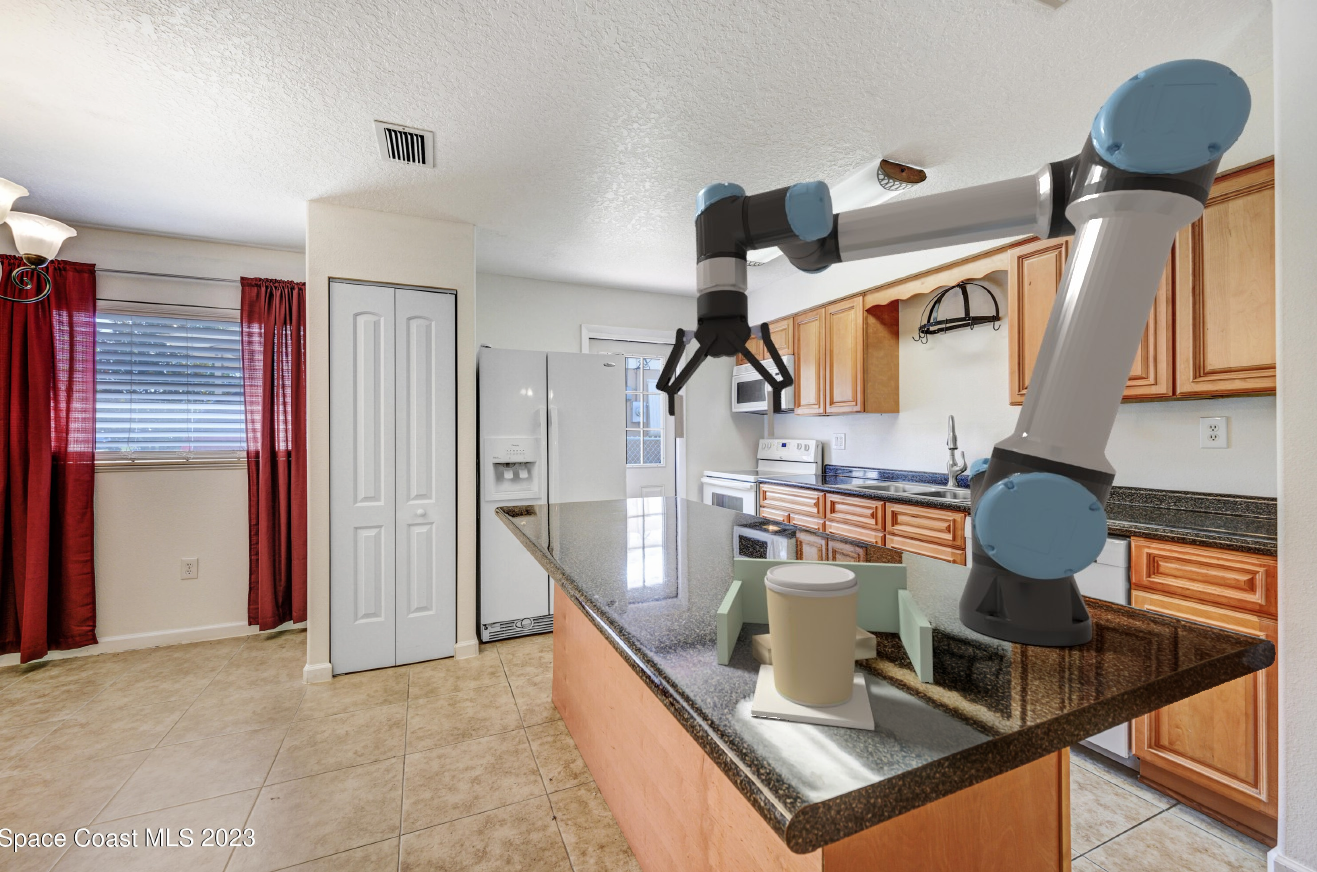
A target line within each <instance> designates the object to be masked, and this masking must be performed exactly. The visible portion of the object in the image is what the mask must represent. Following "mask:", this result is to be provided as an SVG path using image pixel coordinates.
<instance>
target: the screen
mask: <svg viewBox="0 0 1317 872" xmlns="http://www.w3.org/2000/svg"><path fill="white" fill-rule="evenodd" d="M800 563H809V564H823V565H831V566H836V567H841V568H844V569H847V570H850V571H852V572H853V573H854V574H855V575H856V579H857V580H858V581H859V589H858V591H857V624H856V626H858V627H859V628H861V629H863V630H865V631H867V632H868V631H869V632H882V633H894V634H895V633H896V634H898V636H899V637H900V640H901V642H902V644H903V646H904V649H905V651H906V654H907V655H908V657H909V659H910V661H911V664H912V666H913V668H914V671H915V672H916V675H917V677H918V679H919V681H920V683H925V682H929V683H928V684H934V671H933V668H934V667H933V666H934V665H933V662H934V661H933V628H932V627H933V626H932V625H931V624H930V622H929V620H928V619H927V618H926V616H925V614H924V613H923V611H922V609H920V607H919V605H918V603H917V602H916V600H915V599H914V597H913V596H912V594H911V593H910V591H909V590H908V581H907V580H908V577H907V576H908V574H907V573H908V572H907V571H908V570H907V565H906V563H905V564H903V563H881V562H858V561H857V562H854V561H851V562H850V561H827V560H825V561H823V560H803V559H802V560H801V559H800V560H796V559H795V560H794V559H775V558H774V559H773V558H771V559H770V558H747V557H746V558H745V557H743V558H742V557H734V558H733V581H732V584H731V585H730V587H729V588H728V591H727V592H726V594H725V597H724V598H723V600H722V602H721V604H720V605H719V608H718V609H717V612H716V640H717V642H716V646H717V648H716V649H717V650H716V651H717V654H716V655H717V665H726V666H727V665H729V663H730V660H731V658H732V654H733V652H734V649H735V646H736V643H737V640H738V637H739V635H740V632H741V629H742V627H743V623H747V624H748V623H749V624H764V625H769V618H768V605H767V589H766V585H765V576H766V575H767V572H768V570H769V569H770V568H772V567H775V566H779V565H785V564H800Z"/></svg>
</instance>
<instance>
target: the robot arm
mask: <svg viewBox="0 0 1317 872" xmlns="http://www.w3.org/2000/svg"><path fill="white" fill-rule="evenodd" d="M1251 110H1252V95H1251V91H1250V88H1249V86H1248V84H1247V83H1246V81H1245V79H1244V78H1243V77H1242V76H1240V75H1238V74H1237V72H1235V71H1233V70H1232V68H1231V67H1229V66H1227V65H1225V64H1222V63H1220V62H1217V61H1213V60H1209V59H1203V58H1200V59H1199V58H1188V59H1187V58H1184V59H1183V58H1182V59H1177V60H1176V59H1175V60H1172V61H1166V62H1162V63H1160V64H1156V65H1154V66H1151V67H1148V68H1146V69H1144V70H1142V71H1140V72H1139V73H1137V74H1135V75H1133V76H1132V77H1130V78H1129V79H1127V80H1125V81H1124V83H1122V84H1121V85H1119V86H1118V87H1117V88H1116V89H1115V90H1114V91H1113V93H1112V94H1111V95H1110V96H1108V98H1107V99H1106V101H1105V102H1104V104H1102V106H1101V107H1100V108H1099V110H1098V112H1097V113H1096V114H1095V116H1094V119H1093V121H1092V125H1091V128H1090V132H1089V133H1088V136H1087V138H1086V141H1085V142H1084V145H1083V147H1082V149H1081V152H1079V153H1078V154H1076V155H1074V156H1072V157H1069V158H1065V159H1062V160H1057V161H1052V162H1049V163H1048V162H1047V163H1044V165H1042V166H1041V168H1040V169H1038V171H1036V172H1035V173H1034V174H1033V173H1032V174H1029V175H1024V176H1023V175H1022V176H1018V177H1014V178H1007V179H1003V180H997V181H993V182H988V183H983V184H977V185H973V186H968V187H967V186H966V187H962V188H958V189H952V190H948V191H942V192H941V191H940V192H936V193H933V194H927V195H922V196H917V197H912V198H906V199H901V200H896V201H893V202H887V203H882V204H876V205H871V206H866V207H861V208H856V209H852V210H850V209H849V210H846V211H841V212H836V213H833V211H834V210H833V201H832V199H833V198H832V196H831V192H830V191H831V190H830V187H829V186H828V184H827V183H826V182H825V181H823V180H814V181H813V180H812V181H808V182H796V183H794V184H792V185H789V186H788V185H787V186H784V187H780V188H775V189H772V190H771V189H770V190H768V191H763V192H759V193H756V194H755V193H754V194H751V195H747V194H746V190H745V189H744V187H743V186H741V185H740V184H738V183H735V182H724V183H722V182H717V183H713V184H709V185H707V186H706V187H704V188H703V189H701V190H700V191H699V192H698V194H697V196H696V203H695V219H694V227H695V245H696V247H695V249H696V251H695V253H696V262H695V263H696V269H695V271H696V292H697V294H698V297H697V298H696V315H697V316H696V327H695V330H691V329H683V328H681V327H679V328H677V329H676V331H675V338H674V339H675V341H674V345H673V346H672V349H671V351H670V353H669V355H668V357H667V360H666V362H665V364H664V367H663V368H662V371H661V372H660V374H659V377H658V379H657V382H656V384H655V389H656V390H658V391H659V392H662V393H665V394H666V395H667V401H668V402H667V406H668V407H667V408H668V409H667V410H668V411H667V412H668V415H669V416H670V417H674V425H675V426H674V430H675V431H674V434H675V437H674V439H685V427H684V422H685V420H684V416H685V415H684V395H683V394H680V391H682V389H683V388H684V386H685V385H686V384H687V383H688V381H689V380H690V379H691V378H692V376H693V375H694V374H695V373H696V371H697V370H698V369H699V368H700V366H701V365H702V364H703V362H705V361H706V360H707V359H708V357H711V358H712V359H719V358H723V357H724V358H725V357H726V358H735V357H736V356H738V355H739V354H740V355H741V356H742V358H744V360H746V361H747V362H748V364H749V365H750V366H751V367H752V369H754V370H755V371H756V372H757V373H758V375H760V376H761V378H762V379H763V380H764V381H765V382H766V383H767V384H768V385H769V387H770V388H771V390H767V391H766V395H767V397H766V398H767V399H766V401H767V437H775V418H774V417H775V414H781V412H782V410H783V409H782V405H783V404H782V392H783V391H784V390H785V389H787V388H790V387H793V385H794V384H795V381H794V378H793V376H792V374H791V373H790V371H789V368H788V367H787V365H786V363H785V362H784V360H783V358H782V356H781V354H780V352H779V350H778V349H777V347H776V344H775V343H774V341H773V339H772V337H771V329H770V324H769V323H768V322H767V321H766V322H765V321H764V322H762V323H761V324H759V325H753V326H750V324H749V308H748V307H749V305H748V303H749V301H748V298H749V297H748V295H747V294H746V292H747V291H748V289H749V288H748V257H747V256H748V252H750V251H758V250H763V249H768V248H769V249H770V248H777V249H779V250H780V251H781V253H783V254H784V256H785V257H786V258H787V260H788V261H789V263H790V264H791V265H792V266H793V267H794V268H796V269H797V270H798V271H801V272H803V273H805V274H809V275H816V274H817V275H818V274H820V273H822V272H824V271H826V270H828V269H829V268H831V266H832V265H836V264H840V263H841V264H843V263H848V262H855V261H862V260H868V259H869V260H870V259H874V258H882V257H888V256H894V255H899V254H900V255H901V254H907V253H914V252H921V251H927V250H933V249H940V248H947V247H952V246H953V247H954V246H959V245H968V244H973V243H979V242H980V243H981V242H987V241H994V240H999V239H1005V238H1013V237H1019V236H1026V235H1035V236H1036V237H1038V238H1040V239H1041V240H1042V241H1043V240H1051V239H1057V238H1058V239H1059V238H1064V237H1065V238H1066V237H1073V239H1072V242H1071V246H1070V248H1069V252H1068V255H1067V259H1066V262H1065V265H1064V268H1063V271H1062V272H1063V273H1062V275H1061V279H1060V281H1059V284H1058V288H1057V292H1056V294H1055V298H1054V301H1053V304H1052V307H1051V310H1050V313H1049V318H1048V319H1047V324H1046V328H1045V330H1044V332H1043V333H1044V334H1043V336H1042V340H1041V344H1040V346H1039V349H1038V353H1037V356H1036V359H1035V363H1034V367H1033V369H1032V372H1031V376H1030V378H1029V381H1028V385H1027V389H1026V391H1025V392H1026V393H1025V395H1024V398H1023V402H1022V404H1021V405H1022V406H1021V407H1020V408H1021V409H1020V412H1019V415H1018V418H1017V421H1016V424H1015V428H1014V431H1013V432H1012V434H1011V435H1009V436H1008V437H1006V438H1004V439H1001V440H1000V441H998V442H996V443H994V446H993V449H992V452H991V454H990V455H991V456H990V457H983V458H982V457H981V458H979V459H978V458H977V459H975V460H974V461H973V462H972V463H971V465H970V468H969V469H970V472H969V476H968V484H969V489H970V491H969V492H970V495H969V496H970V497H969V498H970V527H971V528H970V531H971V533H970V534H971V537H970V538H971V569H970V571H969V574H968V577H967V580H966V583H965V585H964V588H963V592H962V593H961V594H962V595H961V597H960V600H959V604H958V605H959V606H958V610H959V611H958V613H959V617H958V618H959V621H960V622H961V624H963V625H964V626H966V627H967V628H969V629H971V630H973V631H975V632H977V633H980V634H983V635H986V636H989V637H992V638H996V639H1000V640H1005V641H1009V642H1015V643H1019V644H1020V643H1021V644H1028V645H1033V646H1034V645H1037V646H1047V647H1050V646H1051V647H1067V646H1068V647H1069V646H1070V647H1071V646H1078V645H1083V644H1087V643H1089V642H1090V641H1092V639H1093V622H1092V617H1091V615H1090V612H1089V610H1088V608H1087V605H1086V603H1085V601H1084V599H1083V596H1082V593H1081V591H1080V588H1079V585H1078V583H1077V581H1076V578H1075V575H1076V574H1077V573H1080V572H1082V571H1084V570H1085V569H1086V568H1088V567H1089V566H1091V565H1092V564H1093V563H1094V562H1095V561H1096V560H1097V559H1098V557H1099V556H1100V555H1101V553H1102V552H1103V550H1104V548H1105V546H1106V543H1107V538H1108V528H1109V525H1108V522H1107V521H1108V519H1107V518H1108V517H1107V513H1106V512H1105V509H1106V505H1107V503H1108V499H1109V496H1110V493H1111V489H1112V487H1113V483H1114V480H1115V479H1116V478H1115V477H1116V473H1117V471H1116V469H1115V468H1114V466H1113V465H1112V463H1110V461H1109V459H1108V458H1107V456H1106V454H1105V453H1106V452H1105V451H1106V448H1107V445H1108V443H1109V442H1108V441H1109V439H1110V436H1111V432H1112V430H1113V426H1114V423H1115V419H1116V417H1117V415H1118V411H1119V408H1120V406H1121V403H1122V400H1123V396H1124V394H1125V389H1126V387H1127V384H1128V381H1129V378H1130V375H1131V372H1132V370H1133V369H1132V368H1133V366H1134V363H1135V360H1136V357H1137V355H1138V354H1137V353H1138V350H1139V348H1140V345H1141V341H1142V338H1143V335H1144V333H1145V329H1146V326H1147V323H1148V320H1149V317H1150V314H1151V310H1152V309H1153V306H1154V302H1155V299H1156V296H1157V294H1158V289H1159V288H1160V284H1161V280H1162V277H1163V275H1164V271H1165V269H1166V266H1167V262H1168V259H1169V257H1170V253H1171V250H1172V248H1173V244H1174V241H1175V238H1176V235H1177V233H1178V232H1179V231H1180V230H1182V229H1184V228H1186V227H1188V226H1189V225H1191V224H1193V223H1194V222H1196V221H1197V220H1199V219H1200V218H1201V217H1202V216H1203V214H1204V210H1205V208H1206V206H1207V205H1206V204H1207V202H1208V198H1209V196H1210V193H1211V190H1212V187H1213V186H1214V185H1213V184H1214V182H1215V179H1216V175H1217V171H1218V169H1219V167H1220V163H1221V161H1222V158H1223V156H1224V154H1225V153H1226V152H1228V151H1229V150H1230V149H1231V148H1232V147H1233V146H1234V145H1235V144H1236V142H1238V140H1239V138H1240V136H1241V135H1242V134H1243V132H1244V129H1245V126H1246V124H1247V122H1248V120H1249V117H1250V114H1251ZM752 335H753V336H755V337H756V339H757V340H759V341H762V342H763V345H764V347H765V348H766V350H767V352H768V355H769V356H770V359H771V361H772V362H773V363H774V365H775V367H776V369H777V371H778V373H779V375H780V376H781V380H777V378H776V377H774V375H773V374H772V373H771V372H770V371H769V370H768V369H767V368H766V367H765V365H764V364H763V363H762V362H761V361H760V360H759V359H758V358H757V357H756V356H755V354H753V352H752V351H751V350H750V349H749V348H748V347H747V345H746V344H747V343H748V341H749V339H751V337H752ZM693 339H695V341H697V343H698V344H699V346H698V347H697V349H696V350H695V351H694V353H693V355H692V356H691V358H690V359H689V360H688V361H687V363H686V364H685V365H684V367H683V368H682V369H681V371H680V372H679V373H678V375H677V376H676V377H675V378H674V379H673V376H674V375H675V372H676V370H677V368H678V366H679V364H680V361H681V359H682V357H683V355H684V352H685V350H686V348H687V345H691V342H692V340H693ZM672 379H673V381H672V382H671V380H672Z"/></svg>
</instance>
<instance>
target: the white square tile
mask: <svg viewBox="0 0 1317 872" xmlns="http://www.w3.org/2000/svg"><path fill="white" fill-rule="evenodd" d="M865 681H866V680H865V676H864V673H863V672H862V673H861V672H854V682H853V694H852V697H851V699H850V700H849V701H848V702H846V703H845V704H842V705H839V706H835V707H826V708H820V707H809V706H804V705H800V704H796V703H793V702H791V701H788V700H786V699H785V698H783V697H782V696H780V695H779V694H778V692H777V691H776V688H775V683H774V674H773V665H763V664H761V663H760V668H759V672H758V675H757V681H756V684H755V685H756V686H755V691H754V695H753V700H752V704H751V710H750V715H751V714H752V715H756V716H766V717H777V718H780V719H786V720H785V721H788V720H789V722H799V723H805V724H817V725H825V726H833V727H840V728H841V727H842V728H852V729H860V730H866V731H867V730H869V731H875V722H874V716H873V713H872V709H871V704H870V698H869V695H868V690H867V686H866V682H865Z"/></svg>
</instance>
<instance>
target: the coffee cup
mask: <svg viewBox="0 0 1317 872" xmlns="http://www.w3.org/2000/svg"><path fill="white" fill-rule="evenodd" d="M765 585H766V589H767V605H768V618H769V624H768V627H769V629H768V630H769V634H770V640H771V652H772V663H773V674H774V683H775V688H776V691H777V692H778V694H779V695H780V696H782V697H783V698H785V699H786V700H788V701H791V702H793V703H796V704H800V705H804V706H809V707H820V708H826V707H835V706H839V705H842V704H845V703H846V702H848V701H849V700H850V699H851V697H852V694H853V682H854V673H855V664H856V663H855V662H856V660H855V644H856V624H857V591H858V589H859V581H858V580H857V579H856V575H855V574H854V573H853V572H852V571H850V570H847V569H844V568H841V567H836V566H831V565H823V564H809V563H800V564H785V565H779V566H775V567H772V568H770V569H769V570H768V572H767V575H766V576H765Z"/></svg>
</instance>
